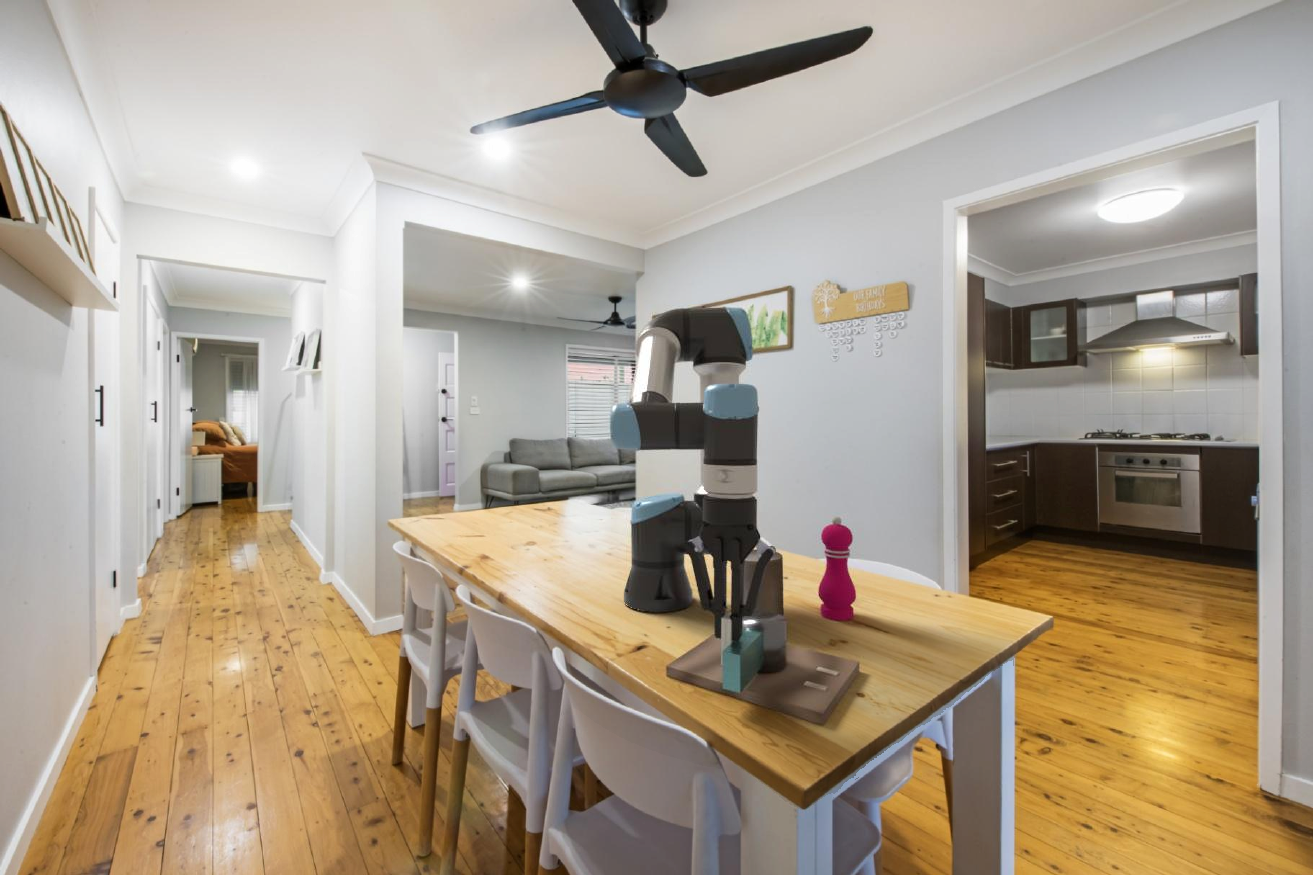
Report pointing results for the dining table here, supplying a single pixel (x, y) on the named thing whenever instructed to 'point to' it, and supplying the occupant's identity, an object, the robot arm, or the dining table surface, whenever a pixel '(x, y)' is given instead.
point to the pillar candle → (766, 583)
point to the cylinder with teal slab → (755, 650)
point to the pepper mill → (837, 573)
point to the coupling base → (775, 680)
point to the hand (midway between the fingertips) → (728, 661)
